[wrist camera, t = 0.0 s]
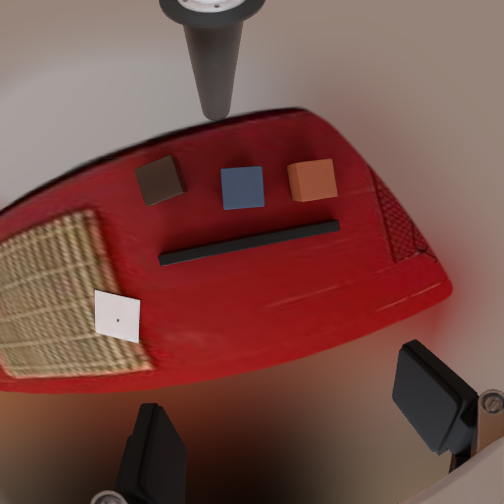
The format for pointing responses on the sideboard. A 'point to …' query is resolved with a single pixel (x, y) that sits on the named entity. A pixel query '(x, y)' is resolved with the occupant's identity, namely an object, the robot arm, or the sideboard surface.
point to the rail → (248, 241)
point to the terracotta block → (312, 180)
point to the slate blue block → (242, 187)
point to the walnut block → (160, 180)
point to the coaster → (117, 316)
